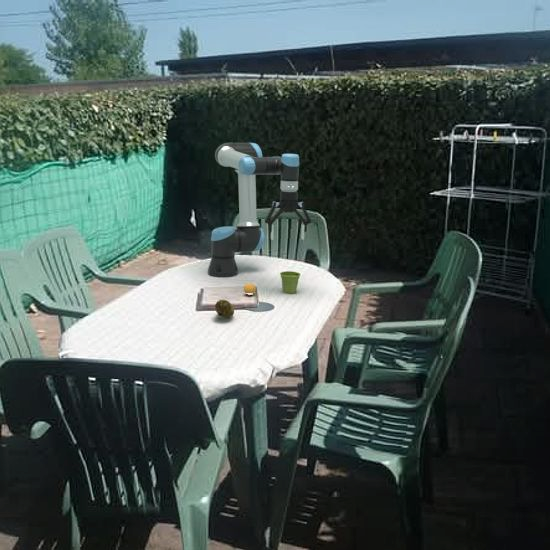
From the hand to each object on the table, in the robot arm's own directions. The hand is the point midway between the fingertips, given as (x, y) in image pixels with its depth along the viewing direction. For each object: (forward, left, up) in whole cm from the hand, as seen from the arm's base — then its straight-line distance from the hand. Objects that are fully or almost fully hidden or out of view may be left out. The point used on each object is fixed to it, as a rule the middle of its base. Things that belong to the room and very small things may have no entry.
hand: (287, 239), depth 257 cm
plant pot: (-2, +3, -25) cm, 26 cm away
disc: (+12, -20, -25) cm, 34 cm away
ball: (-5, -16, -22) cm, 28 cm away
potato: (+18, -39, -25) cm, 50 cm away
